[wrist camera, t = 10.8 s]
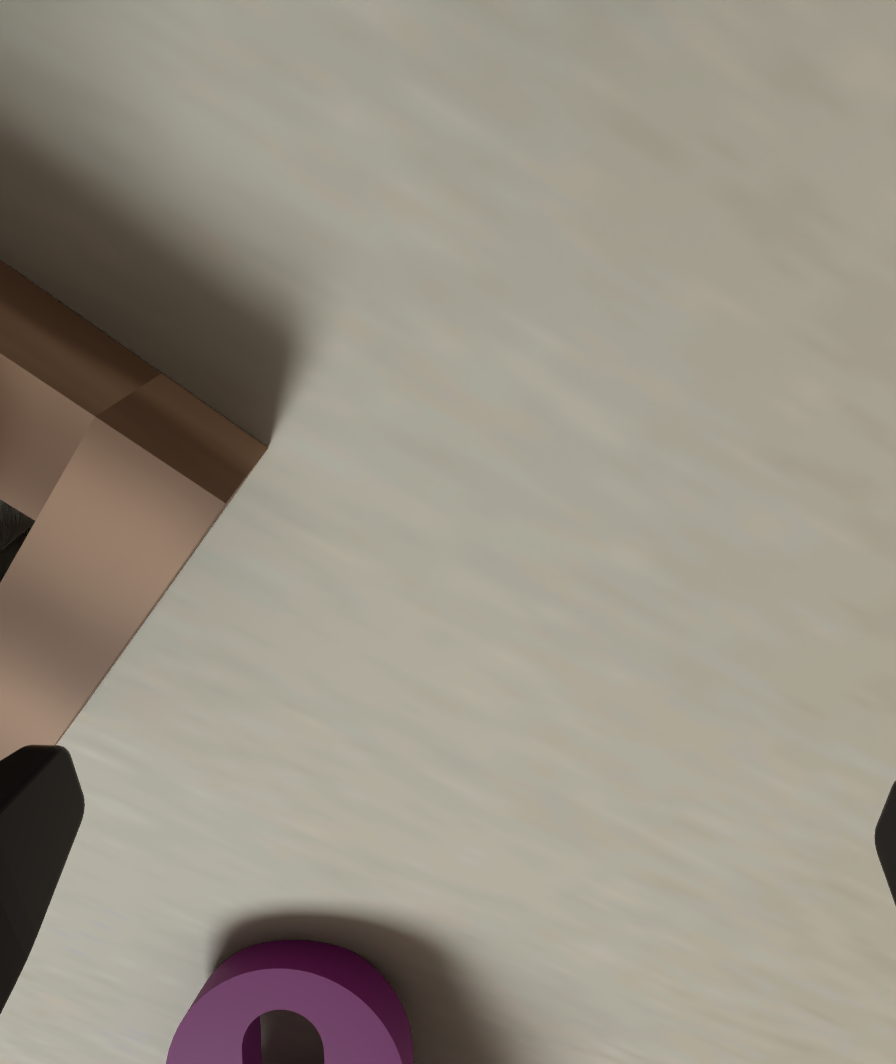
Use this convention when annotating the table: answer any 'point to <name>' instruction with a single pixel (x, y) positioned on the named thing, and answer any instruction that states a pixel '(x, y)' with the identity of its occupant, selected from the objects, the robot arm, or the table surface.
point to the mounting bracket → (295, 1006)
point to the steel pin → (12, 524)
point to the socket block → (92, 502)
